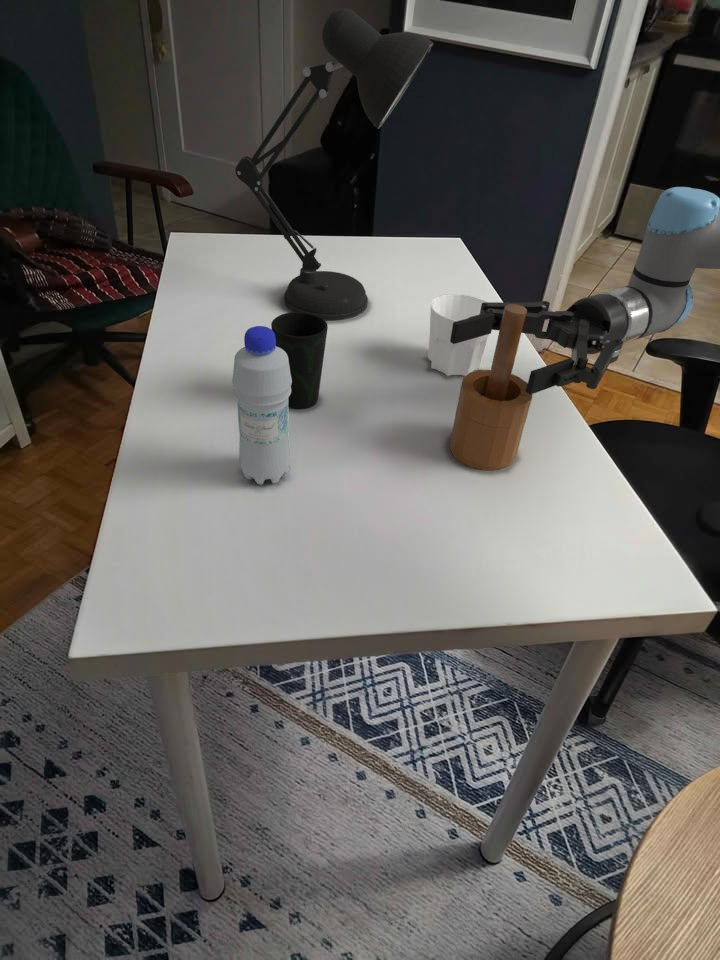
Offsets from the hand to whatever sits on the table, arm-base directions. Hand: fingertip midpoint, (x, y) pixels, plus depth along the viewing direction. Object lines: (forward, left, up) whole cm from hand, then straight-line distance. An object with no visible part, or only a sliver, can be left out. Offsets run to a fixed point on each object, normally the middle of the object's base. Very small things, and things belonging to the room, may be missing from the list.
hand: (489, 356), depth 78 cm
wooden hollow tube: (-1, -3, -15) cm, 15 cm away
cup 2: (+14, -21, -15) cm, 29 cm away
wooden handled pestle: (-1, -3, -14) cm, 15 cm away
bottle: (+18, +20, -15) cm, 31 cm away
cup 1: (+26, +4, -15) cm, 31 cm away
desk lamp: (+43, -25, -15) cm, 52 cm away
